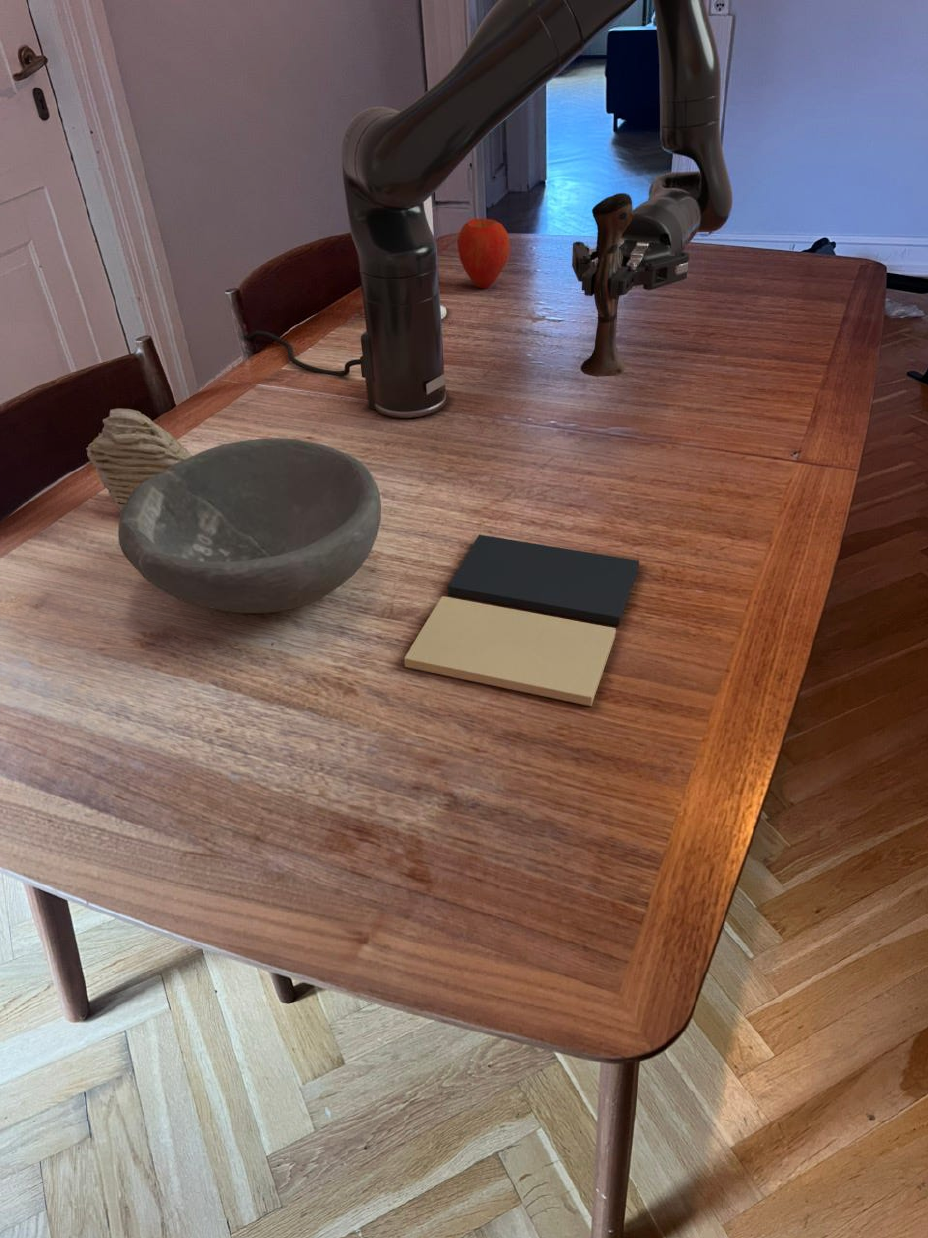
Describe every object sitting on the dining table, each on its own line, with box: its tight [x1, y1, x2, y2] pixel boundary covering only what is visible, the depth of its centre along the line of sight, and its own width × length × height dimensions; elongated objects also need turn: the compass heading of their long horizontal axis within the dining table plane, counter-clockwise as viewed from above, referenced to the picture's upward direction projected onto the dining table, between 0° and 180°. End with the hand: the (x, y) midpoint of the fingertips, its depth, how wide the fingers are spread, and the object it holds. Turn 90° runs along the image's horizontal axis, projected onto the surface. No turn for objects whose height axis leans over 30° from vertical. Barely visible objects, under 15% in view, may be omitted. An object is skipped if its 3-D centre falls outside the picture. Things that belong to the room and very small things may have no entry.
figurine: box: [580, 192, 634, 378], centre depth 92 cm, size 7×5×18 cm
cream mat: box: [403, 595, 617, 707], centre depth 75 cm, size 16×9×1 cm, turn 70°
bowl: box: [117, 437, 382, 614], centre depth 82 cm, size 23×22×10 cm
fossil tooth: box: [85, 407, 193, 511], centre depth 93 cm, size 12×6×15 cm
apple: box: [456, 217, 511, 290], centre depth 145 cm, size 9×8×11 cm
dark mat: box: [447, 534, 640, 627], centre depth 83 cm, size 16×9×1 cm, turn 70°
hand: (601, 287), depth 89 cm, fingers closed on figurine
